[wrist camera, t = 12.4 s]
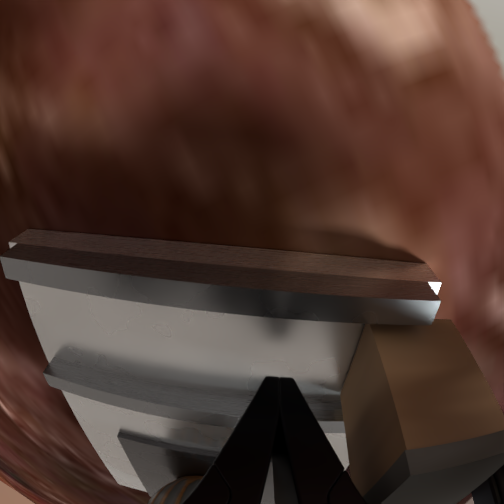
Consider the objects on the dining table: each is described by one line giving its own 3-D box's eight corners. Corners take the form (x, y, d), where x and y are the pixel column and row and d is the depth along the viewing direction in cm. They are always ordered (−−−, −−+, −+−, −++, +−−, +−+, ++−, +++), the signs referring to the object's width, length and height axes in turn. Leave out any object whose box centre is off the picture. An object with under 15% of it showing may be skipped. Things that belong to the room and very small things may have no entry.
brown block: (454, 317, 9) (523, 445, 4) (415, 393, 10) (448, 509, 6) (364, 314, 9) (410, 475, 4) (336, 396, 10) (350, 527, 6)
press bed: (426, 263, 9) (455, 301, 7) (314, 496, 18) (314, 522, 16) (28, 228, 10) (-10, 255, 8) (123, 471, 18) (114, 494, 16)
